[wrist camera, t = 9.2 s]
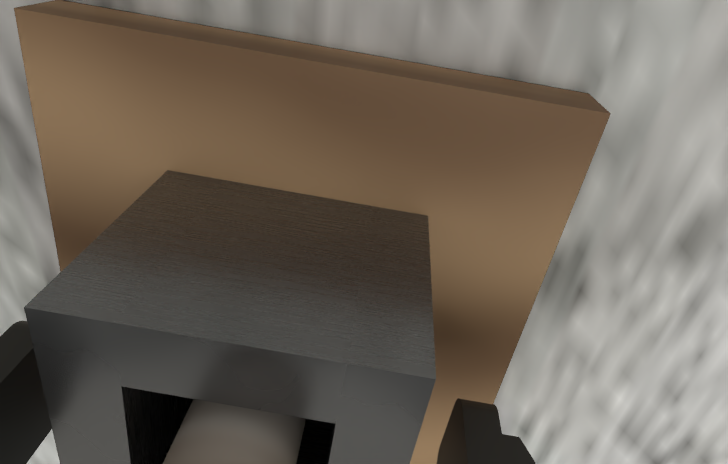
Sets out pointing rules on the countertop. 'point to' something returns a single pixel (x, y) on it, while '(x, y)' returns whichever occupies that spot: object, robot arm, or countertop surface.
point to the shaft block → (314, 172)
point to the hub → (240, 323)
